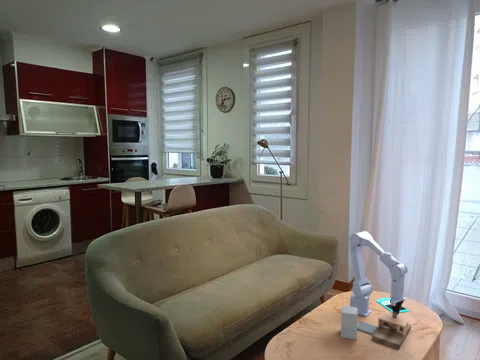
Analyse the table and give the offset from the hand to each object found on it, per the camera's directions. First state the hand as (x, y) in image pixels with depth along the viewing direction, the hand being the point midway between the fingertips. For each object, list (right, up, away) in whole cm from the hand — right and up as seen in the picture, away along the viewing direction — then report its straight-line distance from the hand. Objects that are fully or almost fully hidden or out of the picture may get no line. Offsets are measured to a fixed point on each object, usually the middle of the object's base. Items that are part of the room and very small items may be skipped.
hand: (396, 314), depth 167 cm
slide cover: (-3, -6, -3) cm, 7 cm away
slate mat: (-14, -8, +1) cm, 16 cm away
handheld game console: (+9, -6, +25) cm, 27 cm away
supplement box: (-25, -9, -4) cm, 26 cm away
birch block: (-1, -8, 0) cm, 8 cm away
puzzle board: (-3, -8, -3) cm, 10 cm away
